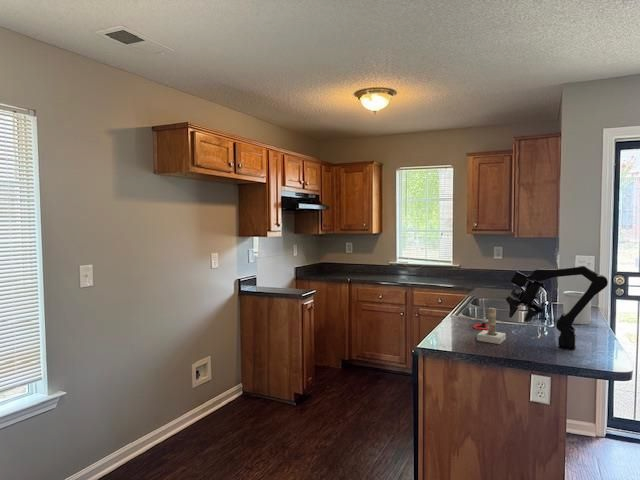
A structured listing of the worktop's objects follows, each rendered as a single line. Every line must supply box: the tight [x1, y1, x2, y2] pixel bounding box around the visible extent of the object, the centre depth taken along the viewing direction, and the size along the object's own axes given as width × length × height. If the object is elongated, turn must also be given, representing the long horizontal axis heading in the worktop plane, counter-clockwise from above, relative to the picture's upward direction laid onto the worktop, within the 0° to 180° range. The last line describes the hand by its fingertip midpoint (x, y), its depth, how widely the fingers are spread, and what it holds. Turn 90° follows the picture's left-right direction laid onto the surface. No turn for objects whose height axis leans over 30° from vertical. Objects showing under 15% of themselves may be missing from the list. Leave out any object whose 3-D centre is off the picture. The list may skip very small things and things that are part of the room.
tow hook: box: [472, 304, 488, 331], centre depth 244 cm, size 8×13×9 cm
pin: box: [487, 307, 497, 336], centre depth 220 cm, size 4×4×16 cm
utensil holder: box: [562, 290, 592, 325], centre depth 259 cm, size 15×15×18 cm
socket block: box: [476, 330, 507, 345], centre depth 220 cm, size 11×11×3 cm
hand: (517, 319), depth 219 cm, fingers open, 9 cm apart
